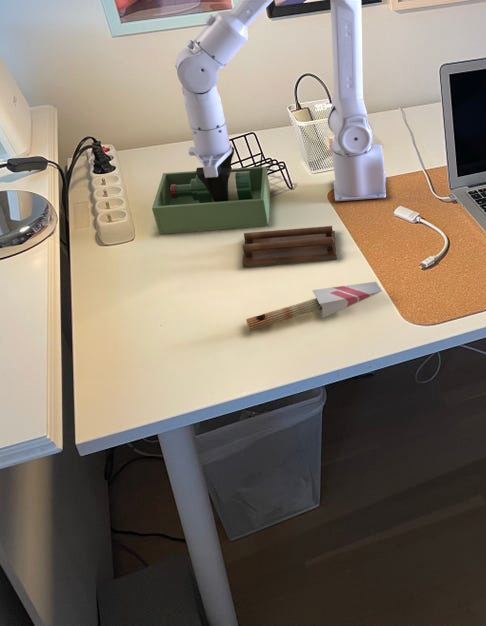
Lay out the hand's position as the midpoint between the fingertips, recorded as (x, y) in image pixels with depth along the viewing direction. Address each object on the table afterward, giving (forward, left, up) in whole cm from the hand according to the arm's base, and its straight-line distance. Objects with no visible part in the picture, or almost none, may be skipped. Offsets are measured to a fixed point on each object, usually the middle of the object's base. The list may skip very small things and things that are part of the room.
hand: (223, 196), depth 129 cm
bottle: (+2, 0, -1) cm, 2 cm away
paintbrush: (-15, +33, -3) cm, 37 cm away
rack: (-11, +15, -3) cm, 19 cm away
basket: (+2, 0, -3) cm, 3 cm away
